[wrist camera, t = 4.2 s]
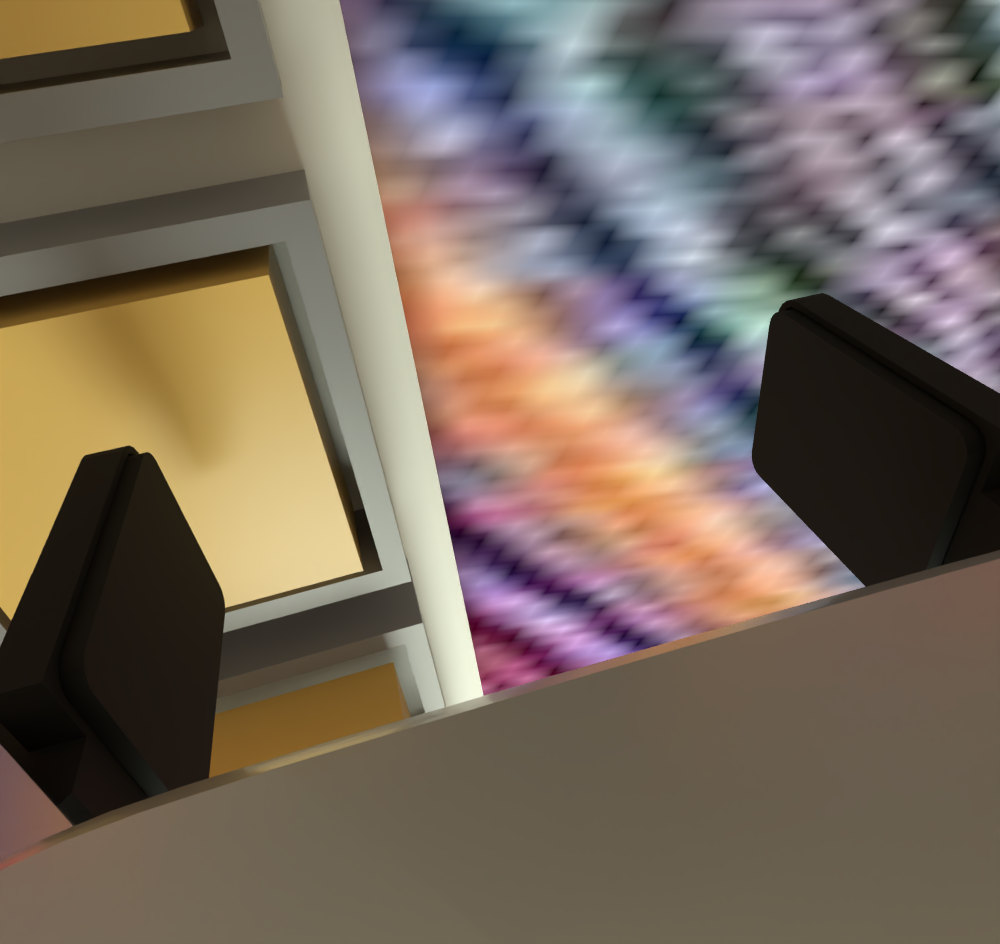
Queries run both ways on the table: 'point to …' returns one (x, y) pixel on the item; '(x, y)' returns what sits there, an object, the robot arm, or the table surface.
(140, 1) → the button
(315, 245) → the strip
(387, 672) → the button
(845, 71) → the table surface
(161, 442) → the button middle
